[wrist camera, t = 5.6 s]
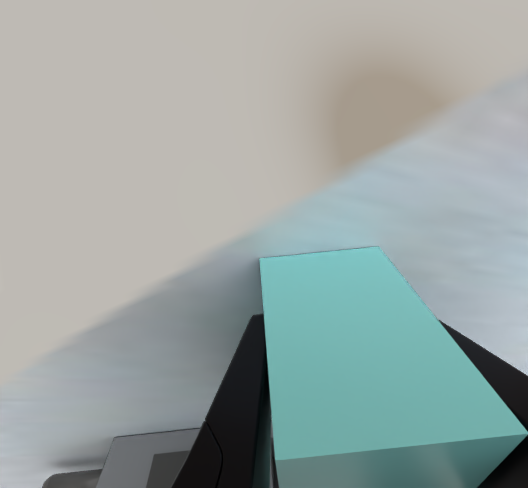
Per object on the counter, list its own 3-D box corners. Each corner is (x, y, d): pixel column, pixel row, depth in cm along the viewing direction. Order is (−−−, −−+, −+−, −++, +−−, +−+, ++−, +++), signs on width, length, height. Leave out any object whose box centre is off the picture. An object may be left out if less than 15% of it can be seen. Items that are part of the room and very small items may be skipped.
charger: (378, 246, 9) (529, 433, 4) (356, 371, 13) (421, 544, 8) (259, 258, 9) (274, 460, 4) (272, 380, 13) (289, 558, 8)
